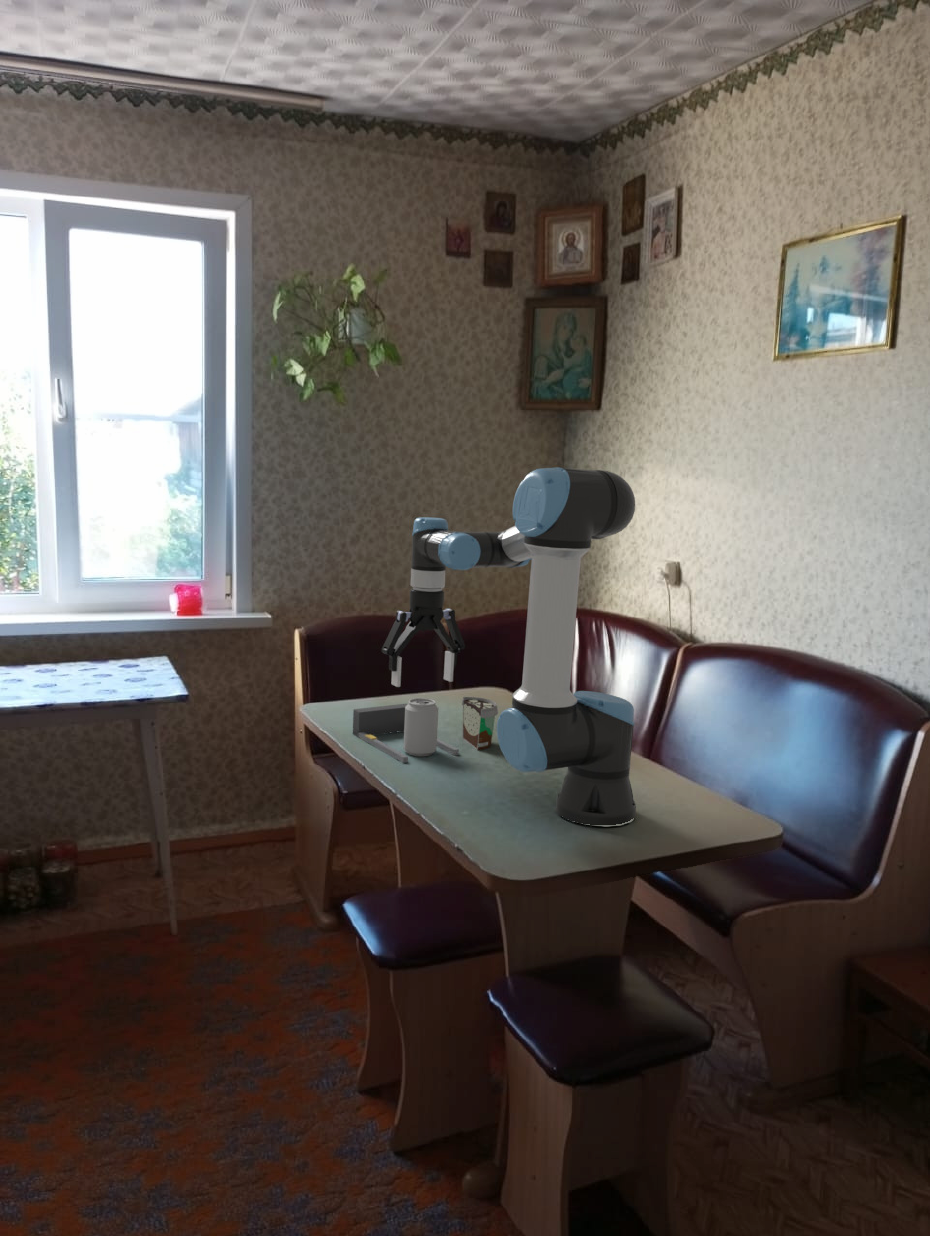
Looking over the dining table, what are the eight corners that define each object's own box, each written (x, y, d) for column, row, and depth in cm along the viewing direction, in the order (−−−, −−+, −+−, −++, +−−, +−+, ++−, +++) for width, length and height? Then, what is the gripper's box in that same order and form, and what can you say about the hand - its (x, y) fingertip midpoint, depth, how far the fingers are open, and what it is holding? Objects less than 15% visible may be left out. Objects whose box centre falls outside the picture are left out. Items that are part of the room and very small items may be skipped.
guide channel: (459, 754, 215) (460, 728, 215) (402, 762, 207) (403, 736, 206) (405, 727, 235) (406, 703, 234) (352, 733, 227) (353, 709, 226)
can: (438, 748, 219) (440, 697, 217) (434, 758, 212) (436, 706, 210) (405, 746, 220) (408, 695, 218) (400, 756, 212) (402, 703, 210)
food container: (504, 750, 220) (507, 708, 219) (479, 752, 218) (482, 709, 217) (483, 735, 232) (486, 695, 230) (460, 736, 229) (462, 696, 228)
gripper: (465, 584, 220) (460, 674, 223) (368, 587, 206) (364, 683, 209) (483, 589, 213) (478, 681, 217) (385, 592, 200) (381, 691, 203)
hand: (422, 683), depth 213 cm, fingers open, 13 cm apart
